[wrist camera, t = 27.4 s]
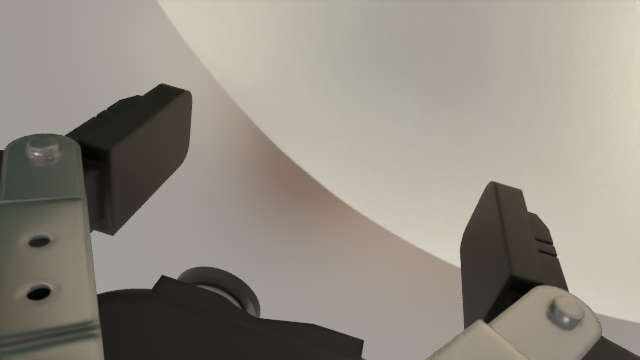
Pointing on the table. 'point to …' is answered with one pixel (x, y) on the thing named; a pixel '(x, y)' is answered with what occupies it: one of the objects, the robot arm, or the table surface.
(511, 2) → the table surface
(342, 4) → the table surface
